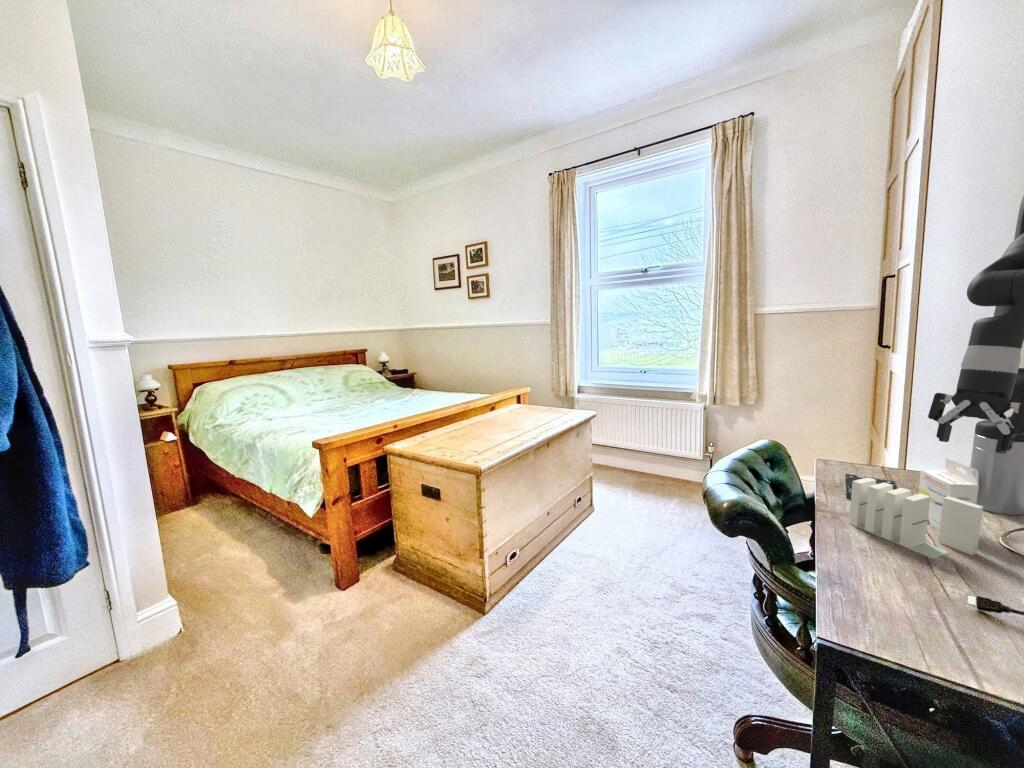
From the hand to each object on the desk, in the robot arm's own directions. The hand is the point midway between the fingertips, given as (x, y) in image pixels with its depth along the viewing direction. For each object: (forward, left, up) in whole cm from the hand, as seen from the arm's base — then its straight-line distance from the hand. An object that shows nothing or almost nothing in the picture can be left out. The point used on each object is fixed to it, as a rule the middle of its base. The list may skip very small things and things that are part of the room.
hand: (970, 446), depth 83 cm
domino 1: (+15, -10, -18) cm, 26 cm away
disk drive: (-3, -19, -19) cm, 27 cm away
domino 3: (+15, -3, -18) cm, 24 cm away
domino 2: (+15, -6, -18) cm, 25 cm away
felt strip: (+15, -3, -19) cm, 24 cm away
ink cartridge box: (+1, -2, -19) cm, 19 cm away
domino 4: (+15, 0, -18) cm, 24 cm away
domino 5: (+9, +4, -19) cm, 21 cm away
